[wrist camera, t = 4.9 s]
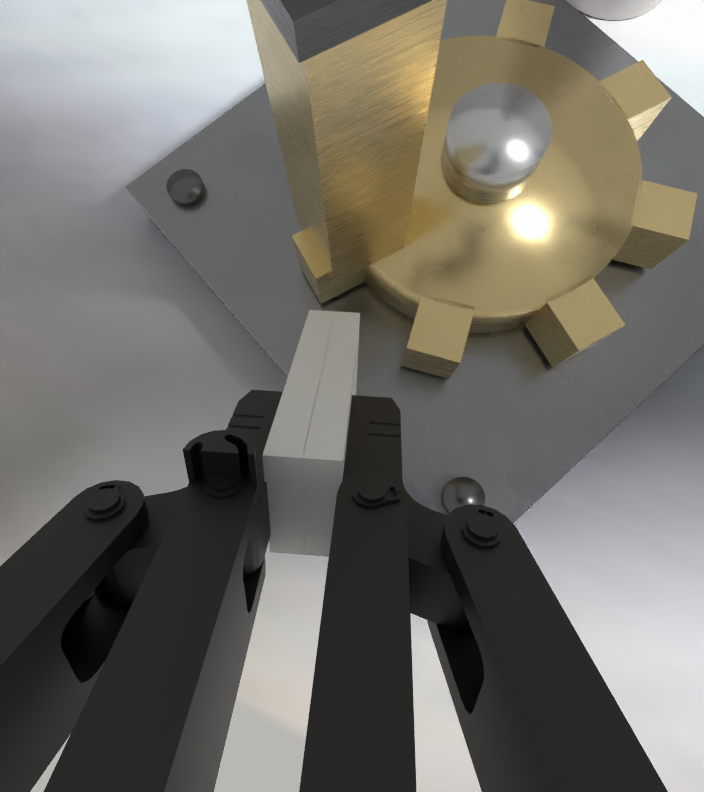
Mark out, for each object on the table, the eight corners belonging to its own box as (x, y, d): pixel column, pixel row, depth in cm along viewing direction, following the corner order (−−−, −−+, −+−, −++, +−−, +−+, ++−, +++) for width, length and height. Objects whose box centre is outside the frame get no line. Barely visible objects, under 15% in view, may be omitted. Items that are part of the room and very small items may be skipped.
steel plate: (783, 252, 24) (961, 149, 17) (449, 564, 22) (492, 597, 15) (468, -24, 28) (505, -206, 21) (148, 217, 25) (63, 105, 18)
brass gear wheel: (529, -4, 24) (728, -596, 11) (734, 268, 21) (1330, -96, 8) (228, 140, 23) (52, -335, 10) (403, 449, 20) (481, 363, 7)
